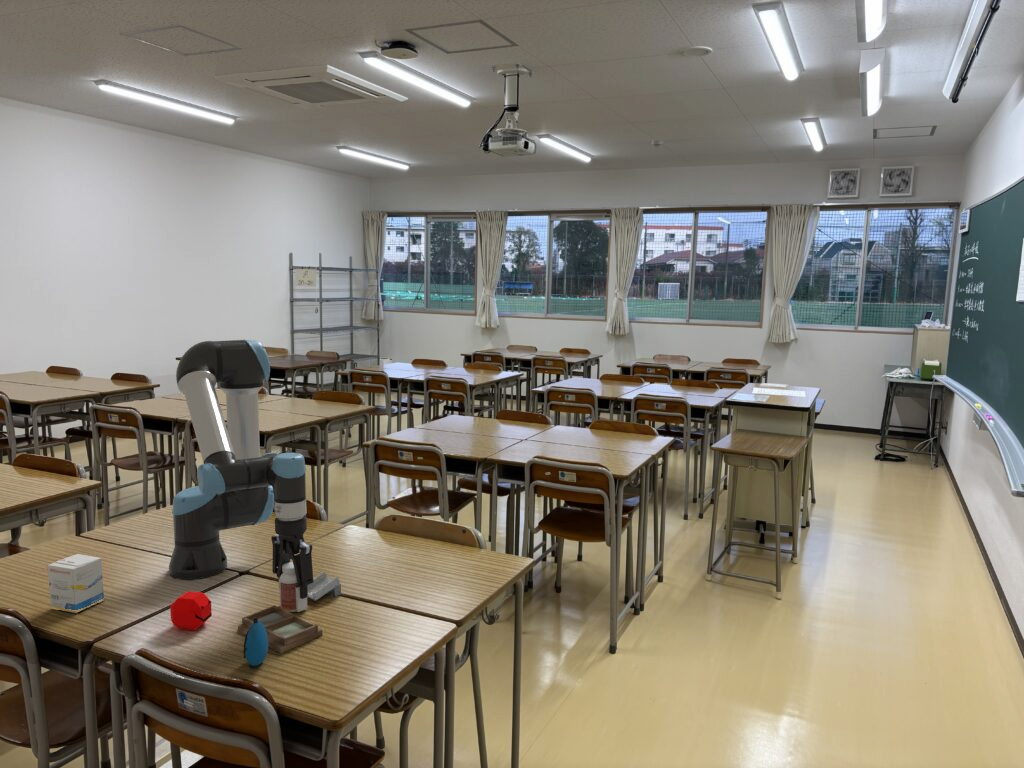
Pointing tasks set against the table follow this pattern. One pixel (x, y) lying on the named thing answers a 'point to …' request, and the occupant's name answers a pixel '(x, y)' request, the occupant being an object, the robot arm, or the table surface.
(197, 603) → the ball
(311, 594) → the feeder chute
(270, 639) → the divided sorting tray
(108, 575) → the table surface
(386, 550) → the table surface
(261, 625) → the ornament
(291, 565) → the pill bottle
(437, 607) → the table surface
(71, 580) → the ink box
